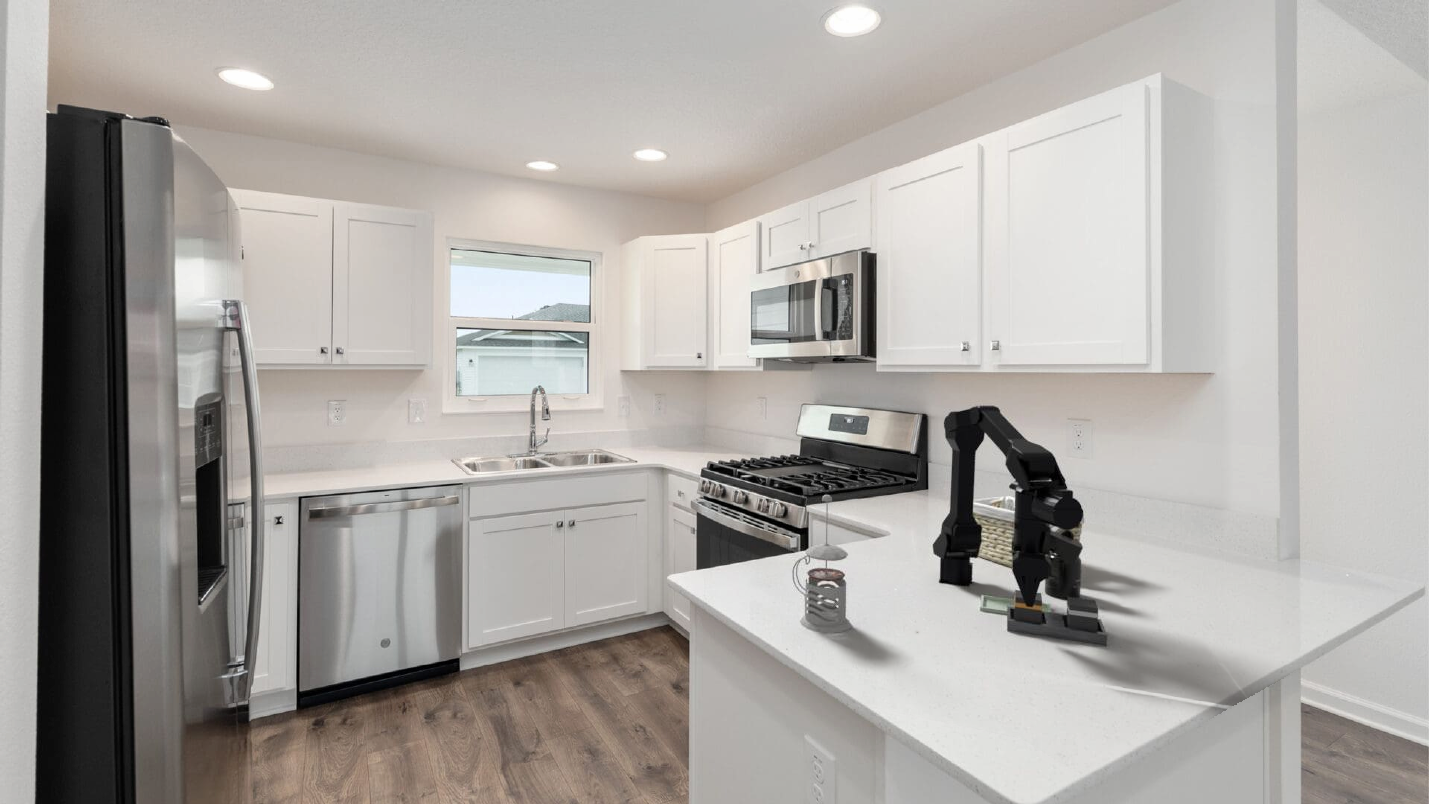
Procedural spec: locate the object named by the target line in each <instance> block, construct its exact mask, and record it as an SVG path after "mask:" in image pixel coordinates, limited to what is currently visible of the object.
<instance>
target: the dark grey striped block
mask: <svg viewBox="0 0 1429 804" xmlns="http://www.w3.org/2000/svg"><path fill="white" fill-rule="evenodd" d="M1014 599H1015V614H1014V620H1021V621H1028V622H1035V623H1041V622H1042V603H1043V598H1042V593H1041V592H1037V594H1036V598H1035V601H1034V605H1033V607H1027V606H1026V604H1025V602H1024V599H1023V597H1022V594H1021V591H1020V589H1019V590H1018V589H1015V590H1014Z"/></svg>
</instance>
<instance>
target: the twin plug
mask: <svg viewBox="0 0 1429 804" xmlns="http://www.w3.org/2000/svg"><path fill="white" fill-rule="evenodd" d="M1066 614H1067V627H1069V628H1076V629H1083V630H1089V631H1096V632H1097V630H1098V619H1099V607H1098V604H1097V601H1096V600H1095V599H1087V598H1081V597H1080V598H1074V597H1068V600H1066Z"/></svg>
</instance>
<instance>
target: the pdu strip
mask: <svg viewBox="0 0 1429 804" xmlns="http://www.w3.org/2000/svg"><path fill="white" fill-rule="evenodd" d="M1014 614H1015V607H1009V606H1007V615H1006V631H1007V632H1010V633H1016V634H1017V633H1018V634H1021V635H1023V634H1024V635H1030V636H1036V637H1042V638H1043V637H1044V638H1049V639H1056V640H1062V641H1069V642H1076V643H1082V644H1087V645H1096V646H1102V647H1107V643H1108V642H1107V641H1108V634H1107V632H1106V630H1105V626H1104V624H1103V622H1102V619H1100V618H1098V630H1097V632H1096V631H1089V630H1083V629H1076V628H1069V627H1067V613H1066V614H1065V613H1059V612H1052V611H1051V612H1045V611H1042V622H1041V623H1035V622H1028V621H1021V620H1014Z"/></svg>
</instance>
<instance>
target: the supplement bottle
mask: <svg viewBox="0 0 1429 804" xmlns="http://www.w3.org/2000/svg"><path fill="white" fill-rule="evenodd" d="M1046 557H1047V558H1048V559H1049V560H1050V561H1051V576H1050V577H1049V578H1048V579H1045V580H1044V593H1045V594H1046V595H1047V596H1049V597H1052V598H1055V599H1058V600H1065V601H1068V597H1074V598H1081V590H1082V589H1081V585H1082V559H1081V557H1080V556H1079V557H1078V559H1077V561H1076V563H1073V562H1071V561H1068V559H1066V558H1064V557H1062V556H1059V555H1057V554H1055V553H1053V552H1050V555H1047V556H1046Z"/></svg>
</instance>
